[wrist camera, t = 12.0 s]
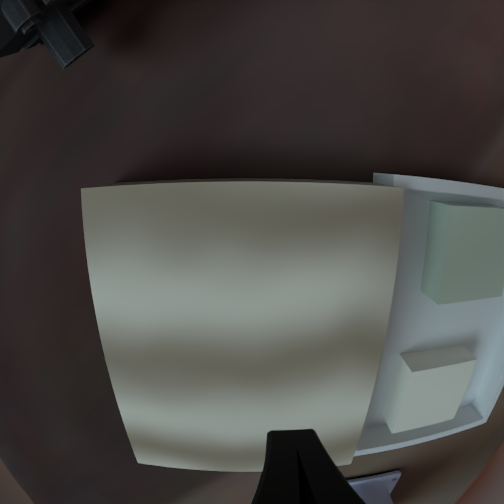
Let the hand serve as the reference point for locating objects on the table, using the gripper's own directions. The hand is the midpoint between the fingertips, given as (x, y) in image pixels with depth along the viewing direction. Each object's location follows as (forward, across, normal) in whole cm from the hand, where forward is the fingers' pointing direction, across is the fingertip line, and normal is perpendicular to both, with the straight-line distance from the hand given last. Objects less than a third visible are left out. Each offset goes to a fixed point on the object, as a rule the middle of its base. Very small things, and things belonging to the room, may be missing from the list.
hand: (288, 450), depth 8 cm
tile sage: (+6, -11, -4) cm, 13 cm away
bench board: (+9, +2, +1) cm, 9 cm away
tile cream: (+6, -10, +5) cm, 13 cm away
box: (+9, -11, 0) cm, 14 cm away
